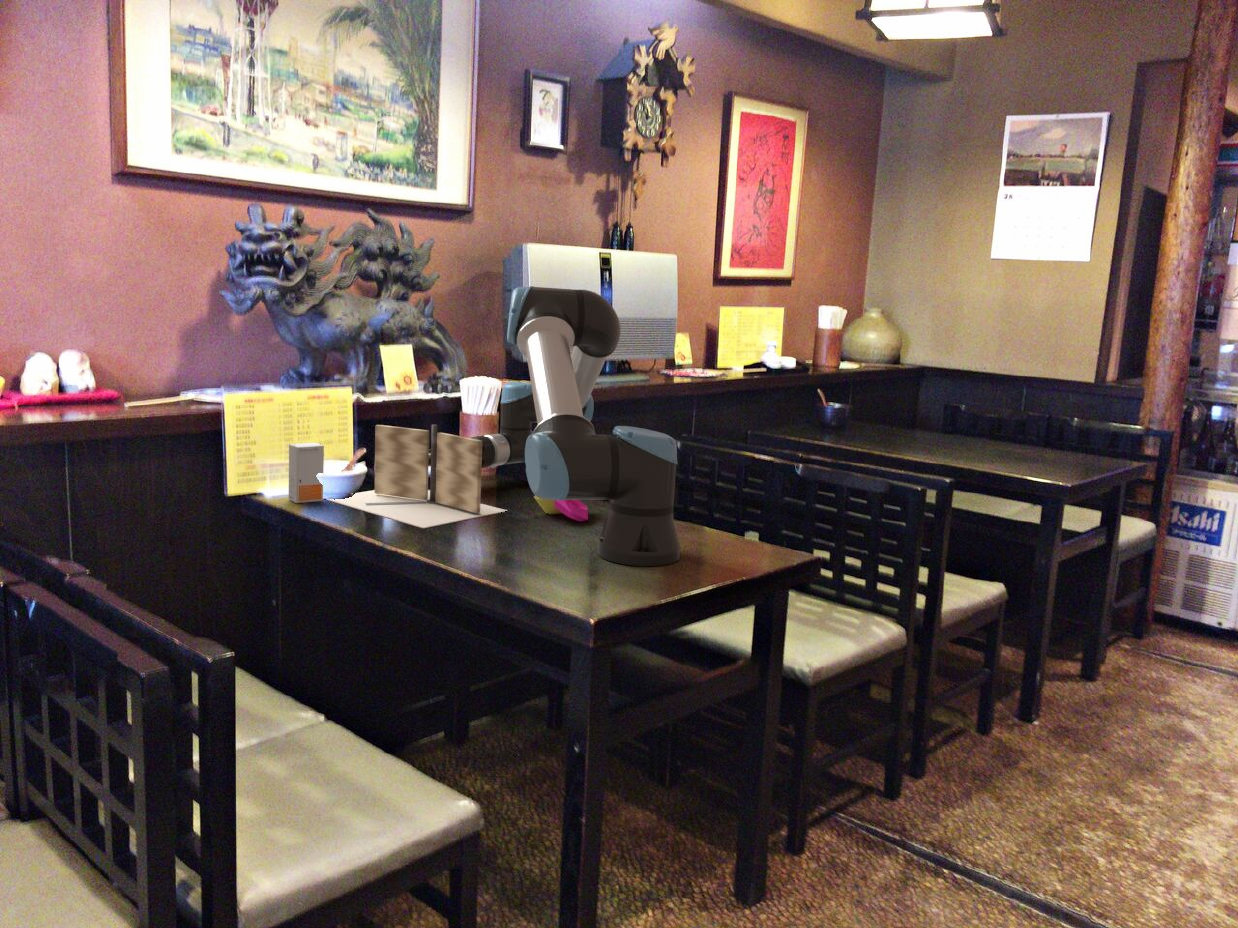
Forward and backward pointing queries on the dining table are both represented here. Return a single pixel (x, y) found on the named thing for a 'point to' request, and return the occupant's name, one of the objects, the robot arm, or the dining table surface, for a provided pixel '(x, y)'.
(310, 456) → the skincare box
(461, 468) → the panel
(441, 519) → the card
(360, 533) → the dining table surface
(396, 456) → the fence gate
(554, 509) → the toy
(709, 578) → the dining table surface
